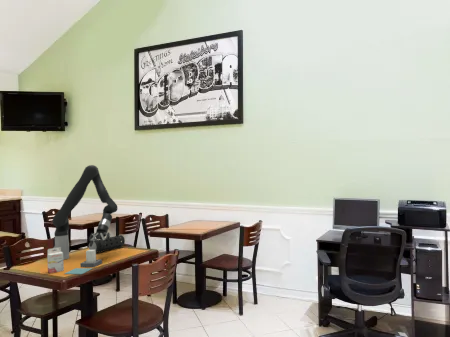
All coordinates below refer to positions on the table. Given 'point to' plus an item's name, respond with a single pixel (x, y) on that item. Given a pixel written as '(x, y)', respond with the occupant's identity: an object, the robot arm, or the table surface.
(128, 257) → the table surface
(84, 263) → the dock
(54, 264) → the ink cartridge box
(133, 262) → the table surface
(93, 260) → the plug
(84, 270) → the mat
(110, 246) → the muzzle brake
